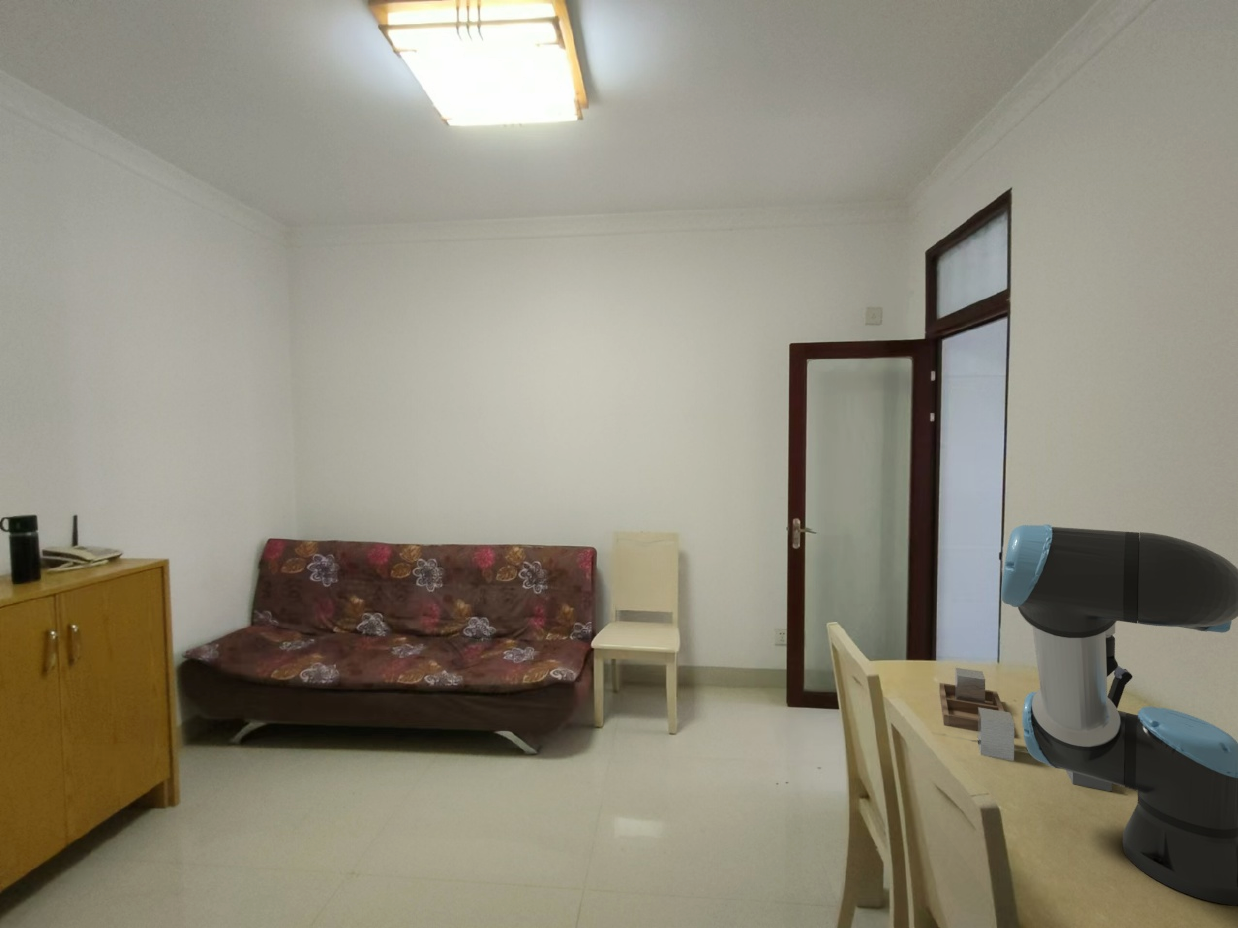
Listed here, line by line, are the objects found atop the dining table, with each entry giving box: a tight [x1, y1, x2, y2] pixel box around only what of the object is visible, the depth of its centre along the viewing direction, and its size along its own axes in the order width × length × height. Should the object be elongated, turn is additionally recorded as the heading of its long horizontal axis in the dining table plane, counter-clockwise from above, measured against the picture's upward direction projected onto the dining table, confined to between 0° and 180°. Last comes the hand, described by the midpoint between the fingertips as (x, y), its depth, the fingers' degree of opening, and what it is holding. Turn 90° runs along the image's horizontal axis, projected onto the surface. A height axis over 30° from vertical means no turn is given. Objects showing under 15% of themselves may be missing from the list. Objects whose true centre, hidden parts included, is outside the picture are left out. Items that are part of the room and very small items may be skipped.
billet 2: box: [977, 707, 1015, 762], centre depth 127 cm, size 6×6×8 cm
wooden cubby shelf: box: [938, 682, 1005, 732], centre depth 144 cm, size 21×13×4 cm, turn 154°
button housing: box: [1065, 770, 1113, 792], centre depth 116 cm, size 6×6×3 cm
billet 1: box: [954, 667, 986, 704], centre depth 148 cm, size 6×6×8 cm
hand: (1088, 748), depth 116 cm, fingers closed
